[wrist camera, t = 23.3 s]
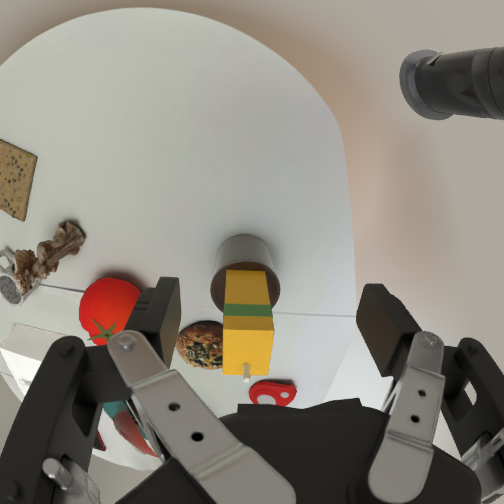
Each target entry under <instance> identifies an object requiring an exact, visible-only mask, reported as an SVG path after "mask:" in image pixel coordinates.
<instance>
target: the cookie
mask: <svg viewBox="0 0 504 504" xmlns="http://www.w3.org/2000/svg"><path fill="white" fill-rule="evenodd" d="M36 160H37V156H34V155H33V154H30V153H27V152H26V151H24V150H21V149H19V148H17V147H15V146H14V145H11V144H8V143H5V142H4V141H2V140H0V209H1V210H3V211H5V212H6V213H8V214H9V215H11V216H12V217H13V218H17V219H19V220H21V221H25V217H26V210H27V204H28V197H29V193H30V188H31V183H32V177H33V172H34V169H35V164H36Z"/></svg>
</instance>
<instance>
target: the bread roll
mask: <svg viewBox="0 0 504 504" xmlns="http://www.w3.org/2000/svg"><path fill="white" fill-rule="evenodd" d="M175 347H176V348H177V351H178V353H179V354H180V356H181V357H182V358H183V360H184V361H185V362H186V363H188V364H190V365H192V366H193V367H196V366H197V367H200V368H204V369H212V370H213V369H219V368H222V367H223V326H222V325H221V324H219V323H218V322H214V321H204V322H198V323H197V324H196V323H195V324H192V325H191V326H189V327H188V328H186V329H185V330H184V331H183V332H182V333H181V334H180V335H179V336H178V337H177V339H176V343H175Z"/></svg>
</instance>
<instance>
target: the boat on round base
mask: <svg viewBox="0 0 504 504" xmlns="http://www.w3.org/2000/svg"><path fill="white" fill-rule="evenodd" d="M103 408H104V411H105V412H106V413H107V414H108V416H109V417H110V418H111V419H112V420H113V422H114V425H115V428H116V430H117V431H118V432H119V434H120V435H121V436H123V437H124V438H125V439H126V440H127V441H128V442H129V443H130V444H131V445H132V446H133V447H134V448H135V449H136V451H138V452H140V453H143V454H149V455H152V456H155V457H158V456H157V455H156V454H155V453H154V452H153V451H152V450H151V448H152V447H151V448H150V447H149V446H148V445H147V443H146V442H145V440H146V439H147V440H148V438H147V437H146V435H145V433H144V432H143V430H142V428H141V427H140V425H139V423H138V422H137V420H136V418H135V417H134V415H133V413H132V412H131V410H130V408H129V406H128V404H127V403H126V401H117V402H108V403H104V405H103ZM144 439H145V440H144ZM158 458H159V457H158Z"/></svg>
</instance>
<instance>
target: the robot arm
mask: <svg viewBox="0 0 504 504" xmlns="http://www.w3.org/2000/svg"><path fill="white" fill-rule="evenodd" d="M440 54H442V52H440V53H438V54H436V55H435V56H429V57H424V58H422V59H420V60H419V61H417V63H416V64H415V66H414V68H413V71H412V86H413V89H414V92H415V94H416V96H417V98H418V100H419V101H420V102H421V103H422V105H423V106H425V107H426V108H427V109H429V110H430V111H433V112H437V113H449V114H457V115H465V116H473V117H480V118H492V119H498V120H504V47H495V48H485V49H478V50H470V51H462V52H456V53H449V54H444V55H440ZM180 321H181V301H180V286H179V278H178V277H160V279H159V281H158V283H157V286H156V288H147V289H146V290H144V291H143V292H142V293H141V294H140V295H139V297H138V299H137V301H136V303H135V306H134V308H133V310H132V312H131V314H130V316H129V318H128V321H127V323H126V325H125V327H124V329H123V331H120V332H117V333H115V334H114V335H112V336H111V337H110V338H109V340H108V342H107V344H105V345H100V346H90V347H85V344H84V342H83V340H82V339H80V338H79V337H76V336H64V337H61V338H59V339H57V340H56V341H54V342H53V343H52V344H51V346H50V348H49V350H48V351H47V353H46V355H45V357H44V359H43V361H42V363H41V365H40V367H39V369H38V371H37V373H36V375H35V377H34V379H33V381H32V383H31V385H30V387H29V389H28V391H27V393H26V395H25V397H24V400H23V402H22V404H21V406H20V409H19V411H18V413H17V416H16V418H15V420H14V423H13V425H12V427H11V430H10V433H9V435H8V438H7V440H6V443H5V446H4V448H3V451H2V454H1V457H0V504H101V502H100V492H99V488H98V486H97V484H96V483H95V482H94V481H93V480H92V478H90V476H89V475H88V474H87V472H88V467H89V463H90V458H91V453H92V449H93V445H94V440H95V436H96V432H97V428H98V424H99V420H100V416H101V413H102V409H103V405H104V403H108V402H117V401H126V403H127V404H128V406H129V408H130V410H131V412H132V413H133V415H134V417H135V418H136V420H137V422H138V423H139V425H140V427H141V428H142V430H143V432H144V433H145V435H146V437H147V438H148V440H149V442H150V444H151V446H152V448H153V449H154V451H155V453H156V454H157V456H158V457H159V459H160V460H161V462H162V463H163V464H162V465H161V466H160V467H159V468H158V469H157V470H155V471H154V472H153V473H152V474H151V475H149V476H148V477H147V478H146V479H145V480H143V481H142V482H141V483H140V484H139V485H138V486H136V487H135V488H134V489H132V490H131V491H130V492H129V493H127V494H126V495H125V496H123V497H122V498H121V499H120V500H118V501H117V502H116V503H115V504H481V503H483V504H489V503H492V502H493V501H495V500H496V499H497V498H499V497H500V496H502V495H503V494H504V375H503V373H502V372H501V370H500V369H499V367H498V366H497V364H496V363H495V362H494V360H493V359H492V357H491V356H490V354H489V353H488V352H487V350H486V349H485V347H484V346H483V345H482V344H481V343H480V342H479V341H477V340H475V339H472V338H463V339H461V341H460V343H459V344H458V346H457V347H452V346H444V343H443V341H442V340H441V339H440V338H439V337H438V336H437V335H435V334H433V333H431V332H427V331H422V329H421V328H420V327H419V325H418V324H417V322H416V321H415V320H414V319H413V317H412V316H411V315H410V313H409V311H408V310H407V309H406V308H405V306H404V305H403V304H402V302H401V301H400V300H399V299H398V298H396V297H395V296H394V295H392V294H390V293H389V292H388V290H387V289H386V288H385V286H384V285H383V284H366V285H365V286H364V289H363V292H362V296H361V299H360V303H359V306H358V310H357V314H356V323H357V325H358V328H359V330H360V332H361V334H362V336H363V338H364V340H365V343H366V345H367V347H368V349H369V351H370V353H371V355H372V357H373V359H374V361H375V363H376V365H377V368H378V370H379V372H380V374H381V376H382V377H388V376H393V378H394V379H393V381H392V383H391V385H390V388H389V390H388V393H387V395H386V398H385V400H384V403H383V405H382V407H381V410H377V409H374V408H370V407H365V406H362V404H361V402H360V399H359V398H353V399H343V400H333V401H329V402H326V403H322V404H319V405H316V406H313V407H309V408H305V409H297V408H291V407H285V406H279V405H273V404H238V409H237V413H233V414H229V415H226V416H223V417H220V418H217V417H216V416H215V415H214V413H213V412H212V411H211V410H210V409H209V408H208V407H207V405H206V404H205V403H204V402H203V401H202V400H201V399H200V397H199V396H198V395H197V394H196V393H195V391H194V390H193V389H192V388H191V387H190V385H189V384H188V383H187V382H186V380H185V379H184V378H183V377H182V376H181V374H180V373H179V372H178V371H177V370H175V369H173V370H169V369H170V365H171V360H172V356H173V351H174V347H175V343H176V338H177V334H178V330H179V326H180ZM469 381H470V382H471V384H472V386H473V388H474V389H475V391H476V394H477V399H476V402H475V404H474V405H472V403H471V401H470V399H469V397H468V395H467V393H466V392H465V390H464V389H465V387H466V386H467V384H468V383H469ZM440 409H441V411H442V414H443V416H444V418H445V420H446V423H447V425H448V427H449V429H450V432H451V434H452V436H453V439H454V441H455V444H456V446H457V449H458V451H459V454H460V456H461V461H459V460H457V459H456V458H454V457H453V456H451V455H449V454H448V453H446V452H445V451H443V450H441V449H440V448H438V447H437V446H435V445H433V444H432V443H433V439H434V435H435V431H436V426H437V422H438V417H439V412H440Z"/></svg>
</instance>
